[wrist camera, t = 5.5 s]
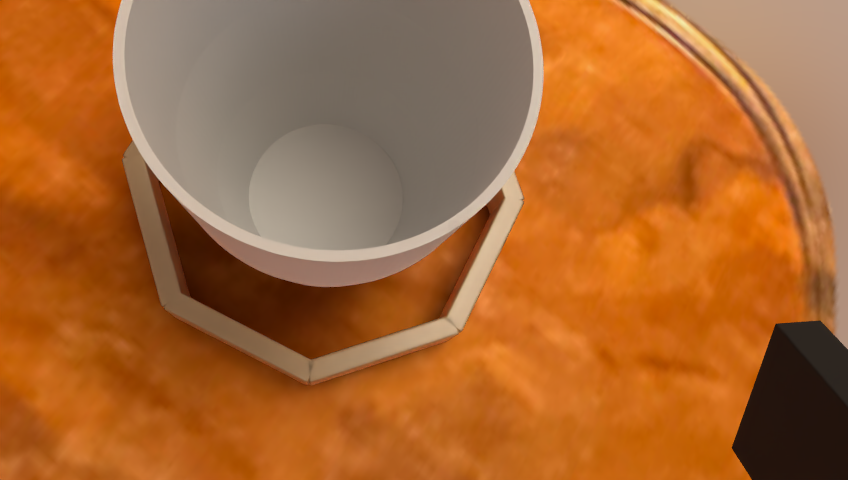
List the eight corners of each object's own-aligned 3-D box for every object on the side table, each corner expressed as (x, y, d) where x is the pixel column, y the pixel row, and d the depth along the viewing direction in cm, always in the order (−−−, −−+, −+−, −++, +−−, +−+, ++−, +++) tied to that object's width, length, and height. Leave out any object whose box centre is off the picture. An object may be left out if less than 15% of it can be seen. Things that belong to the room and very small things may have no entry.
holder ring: (548, 136, 26) (567, 113, 24) (403, 435, 23) (411, 436, 21) (260, -14, 26) (256, -50, 24) (78, 268, 23) (57, 253, 21)
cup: (269, 38, 25) (241, -199, 16) (493, 145, 25) (602, -24, 16) (145, 256, 23) (24, 139, 13) (390, 371, 23) (444, 336, 14)
